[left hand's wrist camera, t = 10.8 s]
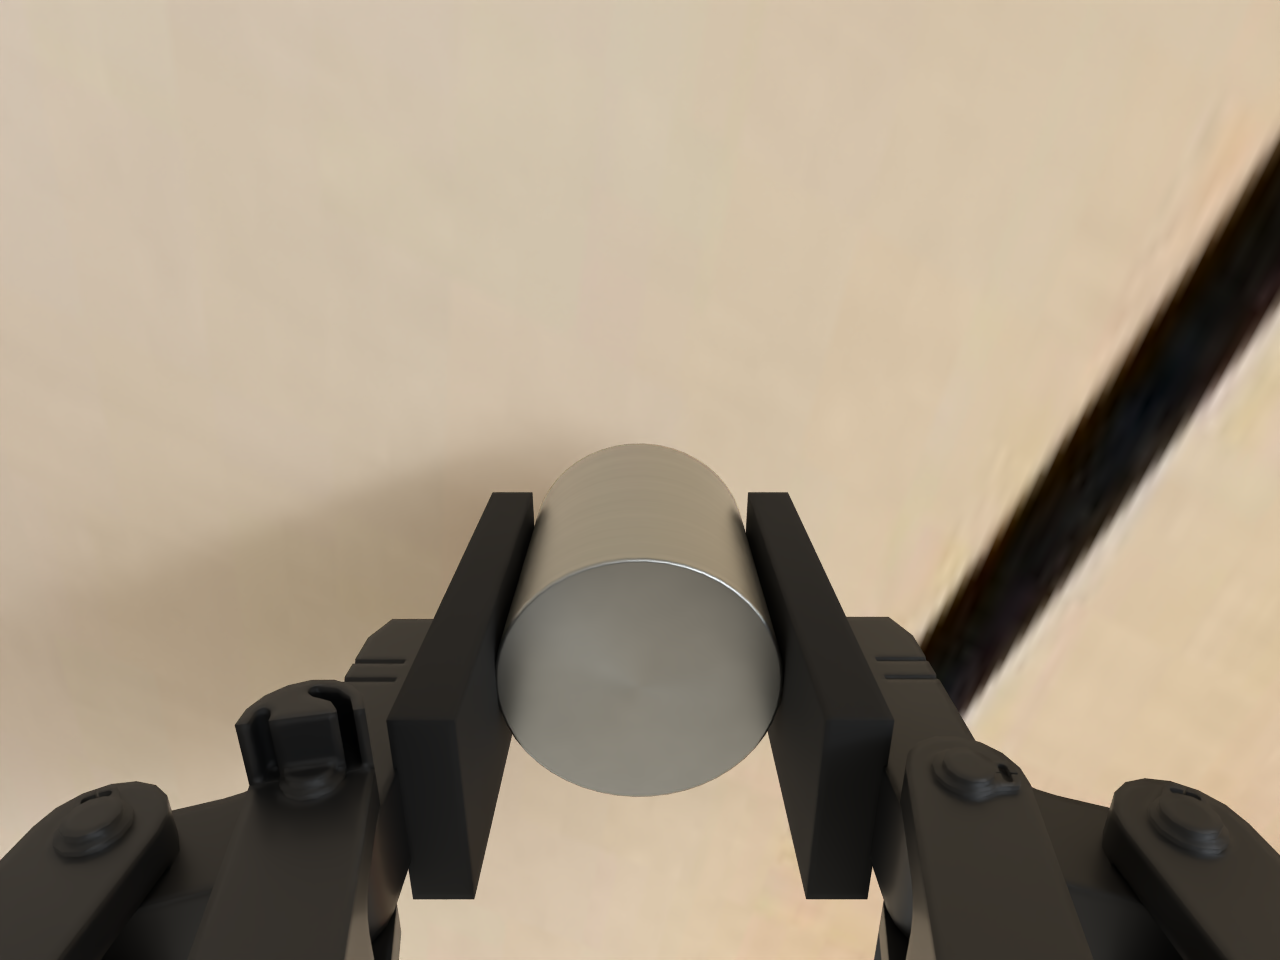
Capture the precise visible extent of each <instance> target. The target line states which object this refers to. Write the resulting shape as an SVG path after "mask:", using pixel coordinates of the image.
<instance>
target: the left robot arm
mask: <svg viewBox="0 0 1280 960" xmlns="http://www.w3.org/2000/svg"><path fill="white" fill-rule="evenodd" d="M533 530H534V512H533V495H532V492H493V493H492V495H491V497H490V499H489V501H488V504H487V506H486V508H485V510H484V512H483V514H482V516H481V519H480V521H479V523H478V525H477V527H476V529H475V531H474V533H473V536H472V538H471V540H470V542H469V544H468V546H467V548H466V551H465V553H464V555H463V557H462V559H461V561H460V563H459V566H458V568H457V570H456V572H455V574H454V576H453V578H452V580H451V583H450V585H449V587H448V589H447V591H446V593H445V595H444V598H443V600H442V602H441V604H440V606H439V608H438V610H437V613H436V615H435V617H434V619H392V620H391V621H389V622H388V623H387V624H385V625H384V626H383V627H382V628H380V629H379V630H378V631H376V632H375V633H374V634H372V635H371V636H370V637H369V638H368V639H367V641H366V642H365V644H364V646H363V647H362V649H361V651H360V652H359V654H358V656H357V657H356V659H355V664H352V666H351V668H350V669H349V671H348V673H347V674H346V676H345V681H344V682H340V681H337V680H310V681H306V682H301V683H297V684H292V685H288V686H286V687H283V688H281V689H279V690H276V691H274V692H272V693H270V694H267V695H265V696H264V697H262V698H261V699H260V700H258V701H257V702H256V703H254V704H253V705H251V706H250V707H249V708H247V709H246V710H245V712H244V713H243V714H242V716H241V717H240V719H239V720H238V721H237V723H236V724H235V728H236V732H237V736H238V740H239V744H240V748H241V752H242V756H243V761H244V765H245V769H246V773H247V777H248V781H249V785H250V786H249V788H248V791H246V792H244V793H241V794H237V795H234V796H231V797H228V798H224V799H220V800H216V801H211V802H207V803H203V804H199V805H194V806H190V807H186V808H181V809H177V810H173V811H171V807H170V804H169V800H168V797H167V795H166V794H165V793H164V792H163V791H162V790H161V789H160V788H158V787H157V786H156V785H152V784H147V783H142V782H137V781H135V782H126V783H117V784H110V785H107V786H104V787H101V788H98V789H95V790H92V791H89V792H86V793H83V794H81V795H79V796H78V797H76V798H74V799H72V800H70V801H68V802H66V803H65V804H63V805H61V806H59V807H57V808H56V809H54V810H53V811H52V812H51V813H49V814H48V815H47V816H46V817H45V818H43V819H42V820H41V821H40V822H38V823H37V824H36V825H35V826H33V827H32V828H31V829H30V830H29V832H28V833H27V834H26V835H25V836H24V837H23V838H22V839H21V840H20V841H19V842H18V843H17V844H16V845H15V846H14V847H13V848H12V849H11V850H10V851H9V852H8V853H7V854H6V855H5V856H4V857H3V858H2V859H1V860H0V960H399V951H400V940H401V928H400V921H399V914H398V908H397V901H398V898H399V895H400V892H401V889H402V886H403V883H404V880H405V877H406V874H407V871H408V868H409V875H410V882H411V888H412V895H413V899H474V898H475V894H476V890H477V885H478V881H479V877H480V872H481V868H482V863H483V859H484V855H485V850H486V846H487V842H488V837H489V833H490V829H491V824H492V820H493V816H494V811H495V807H496V803H497V798H498V794H499V789H500V785H501V781H502V776H503V772H504V768H505V763H506V759H507V755H508V750H509V746H510V742H511V737H512V733H511V731H510V729H509V728H508V726H507V724H506V722H505V720H504V717H503V715H502V713H501V710H500V707H499V703H498V697H497V686H496V674H495V662H496V657H497V652H498V648H499V644H500V641H501V638H502V634H503V631H504V628H505V624H506V621H507V617H508V614H509V611H510V607H511V604H512V601H513V597H514V594H515V590H516V587H517V584H518V580H519V577H520V574H521V570H522V567H523V564H524V560H525V557H526V553H527V550H528V547H529V543H530V540H531V537H532V533H533ZM746 536H747V539H748V543H749V546H750V550H751V553H752V557H753V560H754V563H755V567H756V570H757V574H758V577H759V581H760V584H761V588H762V591H763V594H764V598H765V601H766V605H767V608H768V612H769V615H770V618H771V622H772V625H773V629H774V632H775V636H776V639H777V642H778V646H779V650H780V654H781V658H782V666H783V688H782V694H781V699H780V703H779V707H778V709H777V712H776V714H775V717H774V720H773V722H772V724H771V725H770V727H769V729H768V735H769V739H770V744H771V748H772V752H773V757H774V761H775V765H776V770H777V774H778V779H779V783H780V787H781V792H782V796H783V800H784V805H785V809H786V813H787V818H788V822H789V826H790V831H791V835H792V840H793V844H794V848H795V853H796V857H797V861H798V866H799V870H800V874H801V879H802V883H803V887H804V892H805V896H806V899H867V898H868V892H869V885H870V878H871V872H872V866H873V869H874V872H875V875H876V878H877V881H878V884H879V887H880V890H881V893H882V896H883V899H884V902H883V908H882V914H881V920H880V927H879V933H878V939H877V945H876V951H875V957H874V960H1280V855H1279V854H1278V853H1277V852H1276V851H1275V850H1274V849H1273V848H1272V847H1271V846H1270V845H1269V844H1268V843H1267V842H1266V841H1265V840H1264V839H1263V838H1262V837H1261V836H1260V835H1259V834H1258V833H1257V831H1256V830H1255V829H1254V828H1253V827H1252V826H1251V825H1250V824H1249V823H1247V822H1246V821H1245V820H1244V819H1242V818H1241V817H1240V816H1239V815H1237V814H1236V813H1235V812H1234V811H1233V810H1231V809H1230V808H1229V807H1228V806H1226V805H1225V804H1223V803H1221V802H1219V801H1217V800H1215V799H1214V798H1212V797H1210V796H1208V795H1206V794H1204V793H1202V792H1201V791H1199V790H1196V789H1193V788H1190V787H1187V786H1184V785H1180V784H1177V783H1174V782H1171V781H1164V780H1155V779H1146V778H1144V779H1139V780H1134V781H1129V782H1125V783H1124V784H1123V785H1122V786H1121V787H1120V788H1119V789H1118V790H1117V791H1115V792H1114V796H1113V799H1112V803H1111V806H1110V808H1108V807H1104V806H1099V805H1095V804H1091V803H1086V802H1082V801H1078V800H1073V799H1069V798H1065V797H1061V796H1057V795H1053V794H1050V793H1047V792H1043V791H1040V790H1037V789H1035V788H1033V787H1031V784H1030V783H1029V781H1028V780H1027V778H1026V777H1025V775H1024V773H1023V772H1022V770H1021V769H1020V767H1018V766H1017V765H1016V764H1015V763H1014V762H1012V761H1011V760H1010V759H1009V758H1008V757H1006V756H1005V755H1004V754H1003V753H1001V752H999V751H997V750H995V749H993V748H991V747H989V746H987V745H985V744H983V743H981V742H977V741H975V739H974V737H973V736H972V734H971V732H970V731H969V729H968V727H967V726H966V724H965V722H964V721H963V719H962V717H961V716H960V714H959V712H958V711H957V709H956V707H955V706H954V704H953V702H952V701H951V699H950V697H949V695H948V694H947V692H946V690H945V689H944V687H943V685H942V684H941V682H940V680H939V679H936V674H935V672H934V670H933V669H932V667H931V665H930V664H929V662H928V661H926V657H925V655H924V653H923V652H922V650H921V648H920V647H919V645H918V643H917V642H916V640H915V638H914V637H913V635H911V634H910V633H909V632H908V631H906V630H905V629H904V628H902V627H901V626H900V625H898V624H897V623H896V622H894V621H893V620H892V619H891V618H889V617H846V616H845V613H844V611H843V609H842V607H841V605H840V603H839V601H838V599H837V596H836V594H835V592H834V590H833V588H832V586H831V584H830V581H829V579H828V577H827V575H826V573H825V571H824V569H823V567H822V564H821V562H820V560H819V558H818V556H817V554H816V552H815V549H814V547H813V545H812V543H811V541H810V539H809V537H808V534H807V532H806V530H805V528H804V526H803V524H802V522H801V520H800V517H799V515H798V513H797V511H796V509H795V507H794V505H793V502H792V500H791V498H790V496H789V494H788V492H748V504H747V521H746Z"/></svg>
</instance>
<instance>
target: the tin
mask: <svg viewBox="0 0 1280 960" xmlns="http://www.w3.org/2000/svg"><path fill="white" fill-rule="evenodd" d="M495 674H496V686H497V697H498V703H499V707H500V710H501V713H502V715H503V717H504V720H505V722H506V724H507V726H508V728H509V729H510V731H511V733H512V734H513V736H514V737H515V739H516V740H517V741H518V743H519V744H520V745H521V746H522V747H523V749H524V750H525V751H526V752H527V753H528V754H529V755H530V756H531V757H533V758H534V759H535V760H536V761H537V762H538V763H539V764H541V765H542V766H543V767H545V768H546V769H548V770H549V771H550V772H552V773H554V774H556V775H557V776H559V777H561V778H563V779H565V780H566V781H569V782H571V783H574V784H576V785H578V786H581V787H584V788H587V789H590V790H594V791H597V792H602V793H607V794H612V795H620V796H632V797H641V796H658V795H666V794H671V793H676V792H680V791H685V790H688V789H691V788H694V787H697V786H700V785H702V784H705V783H707V782H709V781H711V780H713V779H715V778H717V777H719V776H721V775H722V774H724V773H726V772H727V771H729V770H731V769H732V768H733V767H734V766H736V765H737V764H738V763H740V762H741V761H742V760H743V759H745V758H746V757H747V756H748V755H749V754H750V753H751V752H752V751H753V750H754V749H755V747H756V746H757V745H758V744H759V742H760V741H761V740H762V738H763V737H764V736H765V734H766V732H767V731H768V729H769V727H770V725H771V724H772V722H773V720H774V717H775V714H776V712H777V709H778V707H779V703H780V699H781V694H782V688H783V666H782V658H781V654H780V650H779V646H778V642H777V639H776V636H775V632H774V629H773V625H772V622H771V618H770V615H769V612H768V608H767V605H766V601H765V598H764V594H763V591H762V588H761V584H760V581H759V577H758V574H757V570H756V567H755V563H754V560H753V557H752V553H751V550H750V546H749V543H748V539H747V536H746V533H745V529H744V526H743V522H742V519H741V515H740V512H739V509H738V506H737V504H736V502H735V499H734V497H733V496H732V494H731V492H730V491H729V489H728V487H727V486H726V485H725V484H724V482H723V481H722V480H721V479H720V478H719V476H717V475H716V474H715V473H714V472H713V471H712V470H711V469H710V468H709V467H707V466H706V465H705V464H703V463H702V462H700V461H699V460H697V459H695V458H693V457H692V456H690V455H688V454H686V453H683V452H681V451H678V450H675V449H672V448H668V447H664V446H660V445H652V444H626V445H619V446H614V447H610V448H607V449H603V450H600V451H598V452H595V453H593V454H591V455H588V456H587V457H585V458H583V459H581V460H580V461H578V462H576V463H575V464H574V465H572V466H571V467H570V468H569V469H567V470H566V471H565V472H564V473H563V474H562V475H561V476H560V477H559V478H558V479H557V480H556V482H555V483H554V484H553V486H552V487H551V488H550V490H549V491H548V493H547V495H546V497H545V498H544V500H543V502H542V505H541V508H540V510H539V513H538V516H537V520H536V523H535V526H534V530H533V533H532V537H531V540H530V543H529V547H528V550H527V553H526V557H525V560H524V564H523V567H522V570H521V574H520V577H519V580H518V584H517V587H516V590H515V594H514V597H513V601H512V604H511V607H510V611H509V614H508V617H507V621H506V624H505V628H504V631H503V634H502V638H501V641H500V644H499V648H498V652H497V657H496V662H495Z"/></svg>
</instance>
